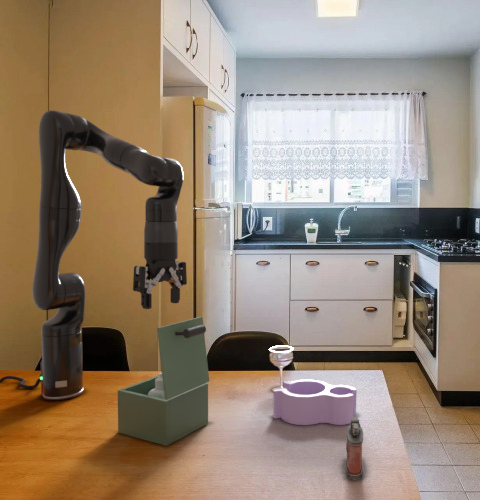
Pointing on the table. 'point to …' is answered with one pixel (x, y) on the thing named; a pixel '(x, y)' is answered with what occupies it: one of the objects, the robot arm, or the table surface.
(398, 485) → the table surface
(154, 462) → the table surface
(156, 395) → the eye dropper bottle
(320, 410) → the clip
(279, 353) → the wineglass
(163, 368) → the lid
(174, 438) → the chest
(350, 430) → the lighter
